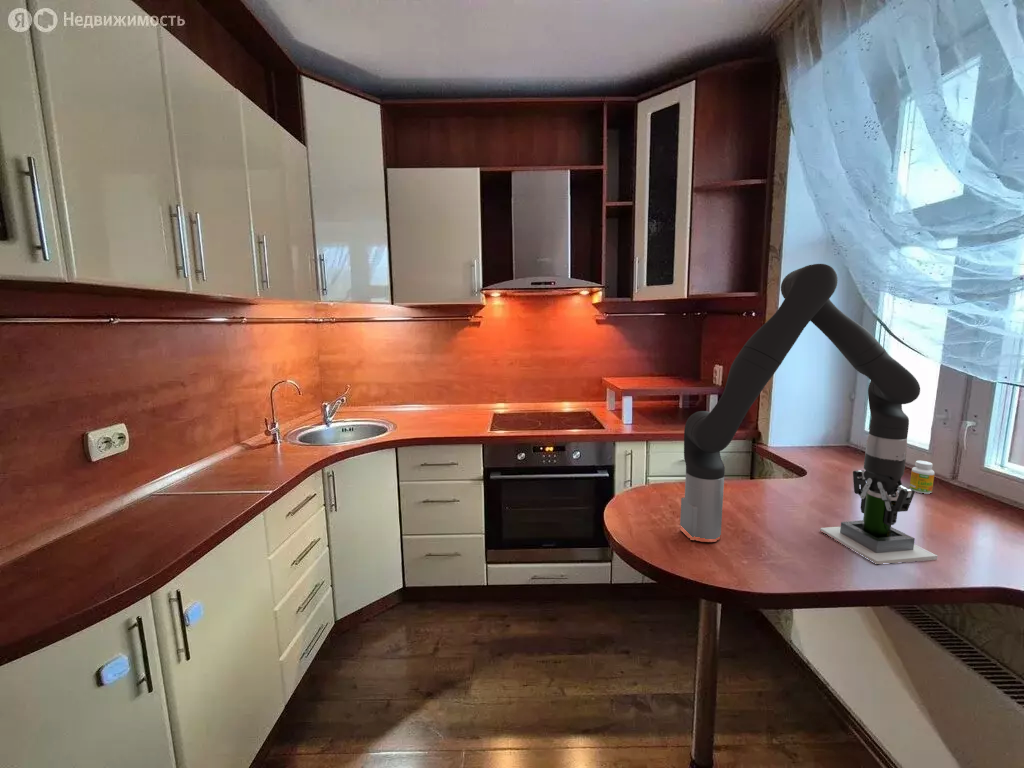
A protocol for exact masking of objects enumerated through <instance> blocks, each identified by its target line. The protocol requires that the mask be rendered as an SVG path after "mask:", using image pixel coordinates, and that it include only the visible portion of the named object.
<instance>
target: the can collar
mask: <svg viewBox="0 0 1024 768" xmlns="http://www.w3.org/2000/svg"><path fill="white" fill-rule="evenodd" d="M862 525H863V519H862V520H852V521H849V520H847V521H841V522H840V526H841V528H840V533H841V534H843V535H845V536H847V537H848V538H850V539H852V540H854V541H855V542H857V543H859V544H861V545H863V546H864V547H866V548H868V549H870V550H871V551H873V552H875V553H885V552H896V551H907V550H913V548H914V544H915V537H913V536H911V535H909V534H906V533H905V532H902V531H900V530H898V529H897V528H895V527H892V526H891V531H890V537H883V538H876V537H874V536H873V535H871V534H869V533H867V532H865V531H863V530H862Z"/></svg>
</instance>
